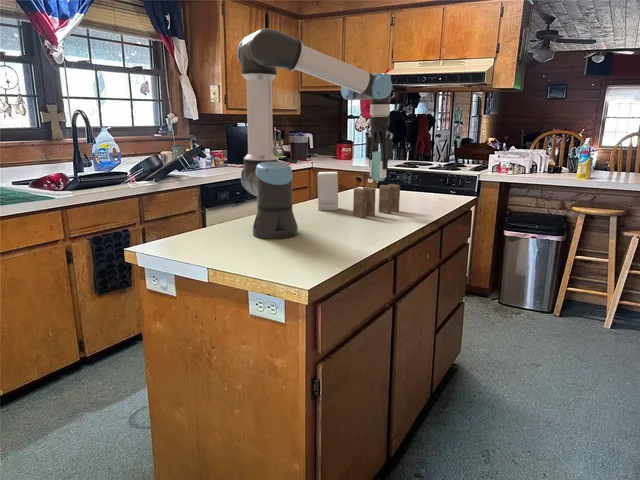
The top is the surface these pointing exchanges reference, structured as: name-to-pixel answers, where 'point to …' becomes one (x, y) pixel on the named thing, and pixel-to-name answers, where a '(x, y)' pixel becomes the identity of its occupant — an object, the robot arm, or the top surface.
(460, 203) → the top surface
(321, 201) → the skincare box
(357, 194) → the domino
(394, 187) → the domino
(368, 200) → the domino
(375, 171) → the teal tile
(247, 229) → the top surface
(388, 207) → the domino
